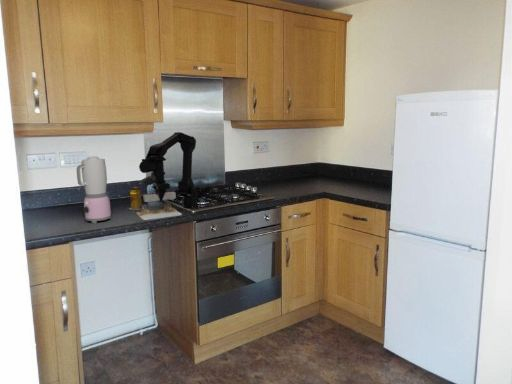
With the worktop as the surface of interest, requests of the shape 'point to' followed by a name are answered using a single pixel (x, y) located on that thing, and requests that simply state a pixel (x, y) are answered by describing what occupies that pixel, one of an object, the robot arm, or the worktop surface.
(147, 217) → the mat
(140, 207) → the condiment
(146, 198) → the rail
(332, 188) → the worktop surface
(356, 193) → the worktop surface
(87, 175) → the blender
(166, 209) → the rack
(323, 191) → the worktop surface
